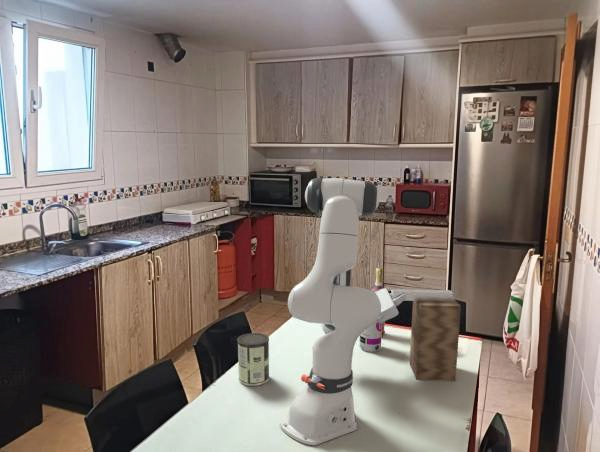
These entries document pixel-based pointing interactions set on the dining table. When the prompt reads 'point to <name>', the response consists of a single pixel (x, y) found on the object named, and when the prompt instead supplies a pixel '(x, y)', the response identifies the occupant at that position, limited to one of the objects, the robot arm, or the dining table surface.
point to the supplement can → (371, 338)
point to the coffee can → (253, 359)
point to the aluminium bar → (423, 295)
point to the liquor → (379, 287)
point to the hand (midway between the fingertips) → (404, 293)
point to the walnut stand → (435, 339)
